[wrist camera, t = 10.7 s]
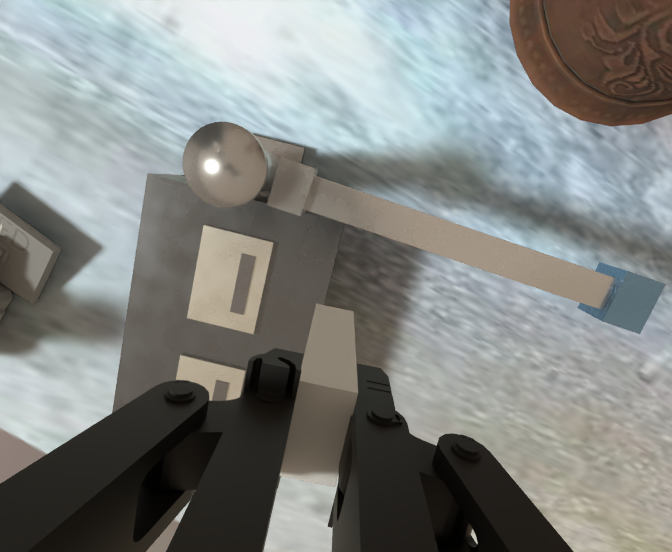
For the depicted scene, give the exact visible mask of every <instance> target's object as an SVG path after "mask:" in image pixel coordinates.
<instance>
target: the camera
mask: <svg viewBox="0 0 672 552" xmlns="http://www.w3.org/2000/svg"><path fill="white" fill-rule="evenodd" d="M60 252H61V248H60V247H59V246H57V245H56V244H55V243H53V242H52V241H50V240H49V239H48V238H46V237H45V236H44V235H42V234H41V233H40V232H38V231H37V230H36V229H34V228H33V227H32V226H30V225H29V224H28V223H26V222H25V221H23V220H22V219H21V218H19V217H18V216H17V215H15V214H14V213H13V212H11V211H10V210H9V209H7V208H6V207H5V206H3V205H2V204H0V320H1V318H2V317H3V315H4V314H5V309H6V308H7V306H8V305H9V303H10V302H11V300H12V299H13V295H12V292H11V290H12V291H13V292H15V293H16V294H17V295H19V296H20V297H22V298H23V299H24V300H26V301H27V302H29V303H33V304H35V303H36V302H37V300H38V298H39V296H40V294H41V292H42V290H43V287H44V285H45V283H46V281H47V279H48V277H49V275H50V273H51V271H52V268H53V266H54V264H55V262H56V260H57V258H58V256H59V254H60Z"/></svg>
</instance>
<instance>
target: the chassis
mask: <svg viewBox="0 0 672 552" xmlns="http://www.w3.org/2000/svg"><path fill="white" fill-rule="evenodd" d="M268 199H269V198H267V197H263V196H259V195H257V196H256V197H255V198H254V199H253V200H251V201H250V202H248V203H246V204H244V205H241V206H236V207H231V208H222V207H216V206H213V205H210V204H208V203H206V202H205V201H203V200H202V199H200V198H199V197H198V196H197V195H196V194H195V193H194V192H193V191H192V189H191V188H190V186H189V184H188V183H187V180H186V178H185V176H183V175H169V174H147V181H146V188H145V195H144V201H143V208H142V215H141V222H140V229H139V235H138V242H137V249H136V256H135V262H134V269H133V276H132V283H131V290H130V296H129V303H128V310H127V317H126V323H125V330H124V337H123V344H122V351H121V357H120V364H119V371H118V378H117V384H116V391H115V398H114V405H113V412H115V411H117V410H118V409H120V408H121V407H123V406H124V405H126V404H128V403H129V402H131V401H132V400H134V399H136V398H137V397H139V396H140V395H142V394H143V393H145V392H147V391H148V390H150V389H151V388H153V387H155V386H156V385H159V384H161V383H163V382H168V381H174V380H188V381H190V382H195V383H198V384H200V385H202V386H204V387H205V388H206V389H207V391H208V392H209V401H224V400H232V399H236V398H239V397H240V396H241V394H242V392H243V389H244V383H245V378H246V372H247V366H248V361H249V359H250V358H251V357H253V356H255V355H259V354H266V353H267V352H269V351H270V350H272V349H274V348H278V349H283V350H288V351H293V352H298V353H302V354H304V353H305V349H306V345H307V341H308V337H309V332H310V328H311V324H312V320H313V316H314V311H315V307H316V304H321V305H324V303H325V299H326V295H327V291H328V287H329V283H330V279H331V275H332V271H333V267H334V263H335V259H336V255H337V251H338V247H339V243H340V239H341V235H342V231H343V227H344V223H343V222H340V221H337V220H334V219H331V218H328V217H325V216H322V215H319V214H316V213H313V212H310V211H307V210H306V212H305V213H304V214H303V215H301V216H298V215H295V214H292V213H289V212H286V211H283V210H280V209H277V208H274V207H271V206H268V205H267V203H268ZM113 412H112V413H113ZM280 477H281V476H280ZM280 477H279V481H280ZM279 481H278V485H279ZM277 489H278V486H277Z"/></svg>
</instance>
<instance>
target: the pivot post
mask: <svg viewBox="0 0 672 552" xmlns="http://www.w3.org/2000/svg"><path fill="white" fill-rule="evenodd" d="M304 151H305V148H303V147H299V146H295V145H291V144H287V143H283V142H279V141H275V140H271V139H268V138H264V137H260V136H256V135H253V134H252V133H251V132H250V131H248V130H246V129H245V128H243V127H241V126H239V125H236V124H233V123H229V122H215V123H211V124H208V125H205V126H204V127H202V128H200V129H199V130H198V131H196V132H195V133H194V134H193V135H192V137H191V138H190V139H189V141H188V143H187V145H186V148H185V150H184V155H183V170H184V175H185V178H186V180H187V183H188V184H189V186H190V188H191V189H192V191H193V192H194V193H195V194H196V195H197V196H198V197H199V198H200V199H202V200H203V201H205V202H206V203H208V204H210V205H213V206H216V207H222V208H231V207H236V206H241V205H244V204H246V203H248V202H250V201H251V200H253V199H254V198H255V197H256V196H257V195H259V196H263V197H267V198H269V196H270V192H271V189H272V185H273V182H274V179H275V175H276V172H277V168H278V165H279V162H280V158H281V157H284V158H286V159H289V160H292V161H295V162H298V163H301V164H302V159H303V155H304Z"/></svg>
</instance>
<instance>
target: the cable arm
mask: <svg viewBox="0 0 672 552" xmlns="http://www.w3.org/2000/svg"><path fill="white" fill-rule="evenodd" d="M317 173H318V169H316V168H313V167H310V166H307V165H304V164H301V163H298V162H295V161H292V160H289V159H286V158H284V157H281V158H280V162H279V165H278V168H277V172H276V175H275V179H274V182H273V185H272V189H271V192H270V196H269V199H268V203H267V205H268V206H271V207H274V208H277V209H280V210H283V211H286V212H289V213H292V214H295V215H298V216H301V215H303V214H304V213H305V212H306V210H307V211H310V212H313V213H316V214H319V215H322V216H325V217H328V218H331V219H334V220H337V221H340V222H343V223H346V224H349V225H352V226H355V227H358V228H361V229H364V230H367V231H369V232H372V233H375V234H378V235H381V236H384V237H387V238H390V239H393V240H396V241H399V242H402V243H405V244H408V245H411V246H414V247H417V248H420V249H423V250H426V251H429V252H432V253H435V254H438V255H441V256H444V257H447V258H450V259H453V260H456V261H459V262H461V263H464V264H467V265H470V266H473V267H476V268H479V269H482V270H485V271H488V272H491V273H494V274H497V275H500V276H503V277H506V278H509V279H512V280H515V281H518V282H521V283H524V284H527V285H530V286H533V287H536V288H539V289H542V290H545V291H548V292H551V293H553V294H556V295H559V296H562V297H565V298H568V299H571V300H574V301H577V302H580V304H579V306H578V308H579V309H581V310H582V311H584V312H586V313H588V314H590V315H592V316H593V317H595V318H597V319H599V320H601V321H603V322H606V323H609V324H612V325H615V326H618V327H621V328H624V329H627V330H630V331H633V332H635V333H638V334H640V333H641V331H642V329H643V327H644V325H645V323H646V321H647V319H648V317H649V316H650V314H651V312H652V310H653V308H654V306H655V304H656V302H657V300H658V298H659V296H660V294H661V292H662V290H663V289H664V287H665V285H666V284H664V283H661V282H658V281H655V280H652V279H649V278H646V277H643V276H640V275H637V274H634V273H631V272H629V271H625V270H622V269H619V268H616V267H613V266H610V265H607V264H603V263H600V262H599V264H598V266H597V269H596V271H594V270H591V269H588V268H585V267H582V266H579V265H576V264H573V263H570V262H567V261H564V260H561V259H558V258H556V257H553V256H550V255H547V254H544V253H541V252H538V251H535V250H532V249H529V248H526V247H523V246H520V245H517V244H514V243H511V242H509V241H506V240H503V239H500V238H497V237H494V236H491V235H488V234H485V233H482V232H479V231H476V230H473V229H470V228H467V227H465V226H462V225H459V224H456V223H453V222H450V221H447V220H444V219H441V218H438V217H435V216H432V215H429V214H426V213H423V212H420V211H418V210H415V209H412V208H409V207H406V206H403V205H400V204H397V203H394V202H391V201H388V200H385V199H382V198H379V197H376V196H374V195H371V194H368V193H365V192H362V191H359V190H356V189H353V188H350V187H347V186H344V185H341V184H338V183H335V182H332V181H329V180H327V179H324V178H321V177H318V176H317Z"/></svg>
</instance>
